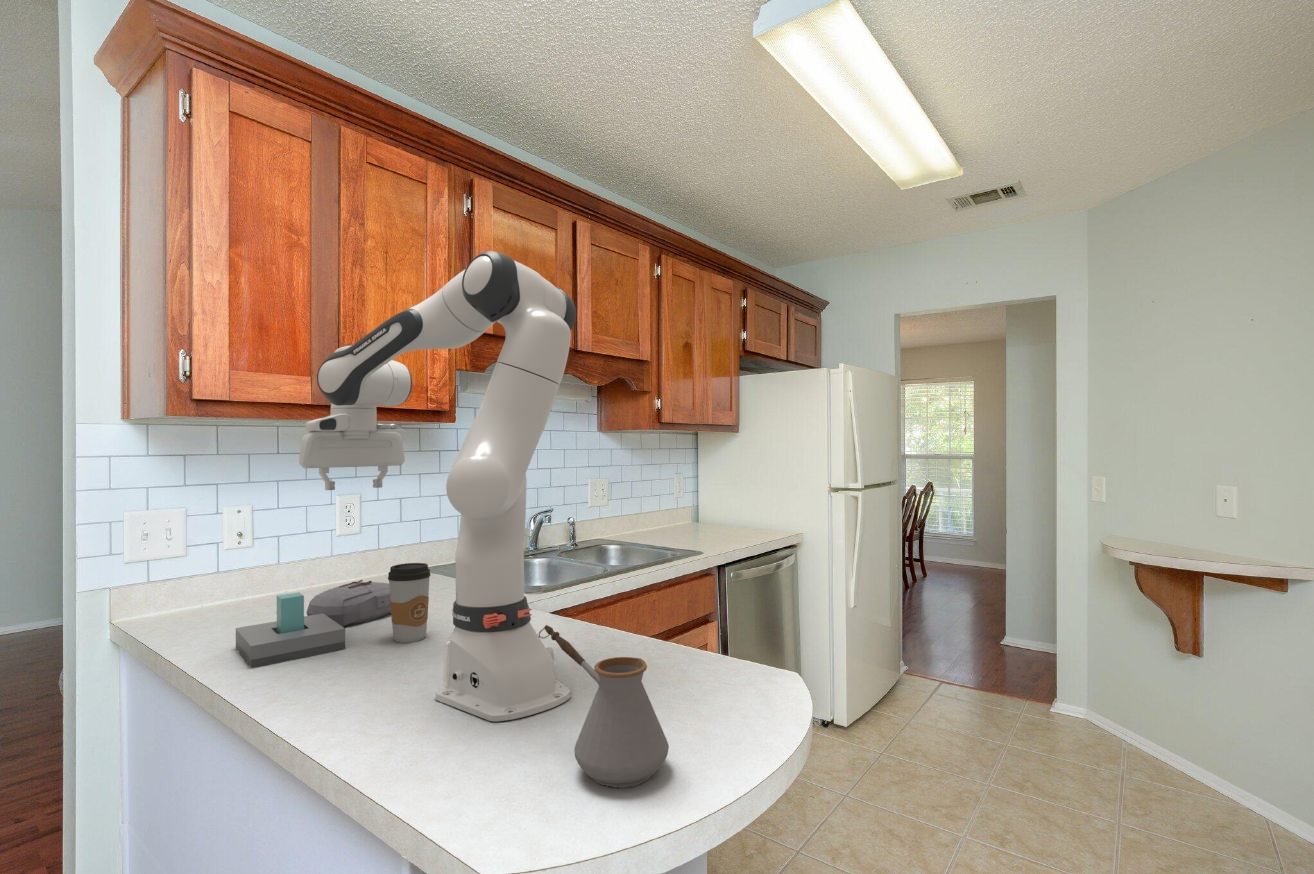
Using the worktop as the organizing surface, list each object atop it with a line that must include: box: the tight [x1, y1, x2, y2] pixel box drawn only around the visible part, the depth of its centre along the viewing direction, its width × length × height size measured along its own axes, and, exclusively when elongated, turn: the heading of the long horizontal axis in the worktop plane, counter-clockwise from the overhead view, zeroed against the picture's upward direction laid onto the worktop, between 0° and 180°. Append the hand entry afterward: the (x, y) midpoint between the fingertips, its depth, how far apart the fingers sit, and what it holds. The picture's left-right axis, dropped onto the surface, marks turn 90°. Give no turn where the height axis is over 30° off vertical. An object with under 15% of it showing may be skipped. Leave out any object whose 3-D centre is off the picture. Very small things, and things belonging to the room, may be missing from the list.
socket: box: [235, 613, 346, 669], centre depth 128 cm, size 16×16×4 cm
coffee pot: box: [538, 624, 670, 789], centre depth 82 cm, size 21×12×15 cm, turn 46°
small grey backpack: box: [305, 579, 391, 627], centre depth 150 cm, size 15×8×20 cm
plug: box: [276, 591, 305, 634], centre depth 128 cm, size 4×4×9 cm
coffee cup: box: [387, 562, 431, 644], centre depth 134 cm, size 8×8×15 cm
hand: (354, 488), depth 136 cm, fingers open, 8 cm apart
